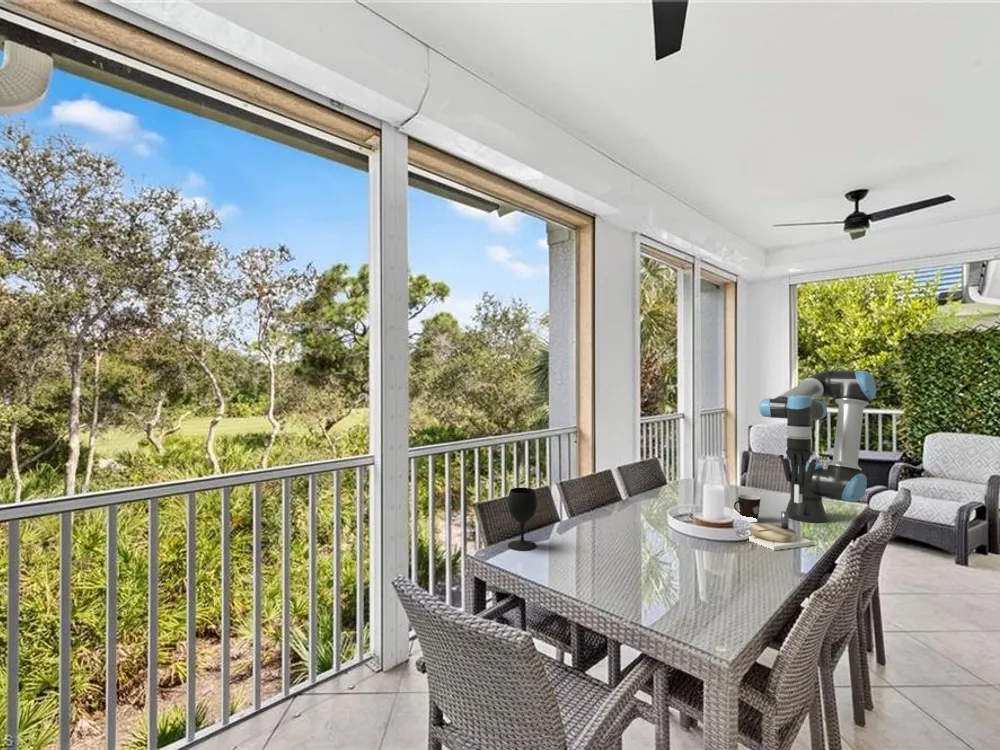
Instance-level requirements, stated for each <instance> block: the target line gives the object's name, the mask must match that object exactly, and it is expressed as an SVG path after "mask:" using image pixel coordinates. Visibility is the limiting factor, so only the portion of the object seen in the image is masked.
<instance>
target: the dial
mask: <svg viewBox="0 0 1000 750" xmlns="http://www.w3.org/2000/svg"><path fill="white" fill-rule="evenodd" d="M780 513H781V515H780V519H781V520H780V522H781V523H780V525H779V524H774V523H752V524H751V525H749V529H750V531H751V534H752V535H753V536H755V537H758V538H761V539H765V540H770V541H778V542H790V541H794V540H795V539H796V536H797V533H796V530H794V529H792V528H790V527H789V522H790V520H789V519H790V518H789V512H786V510H785V511H784V510H783V511H781V512H780Z"/></svg>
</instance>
